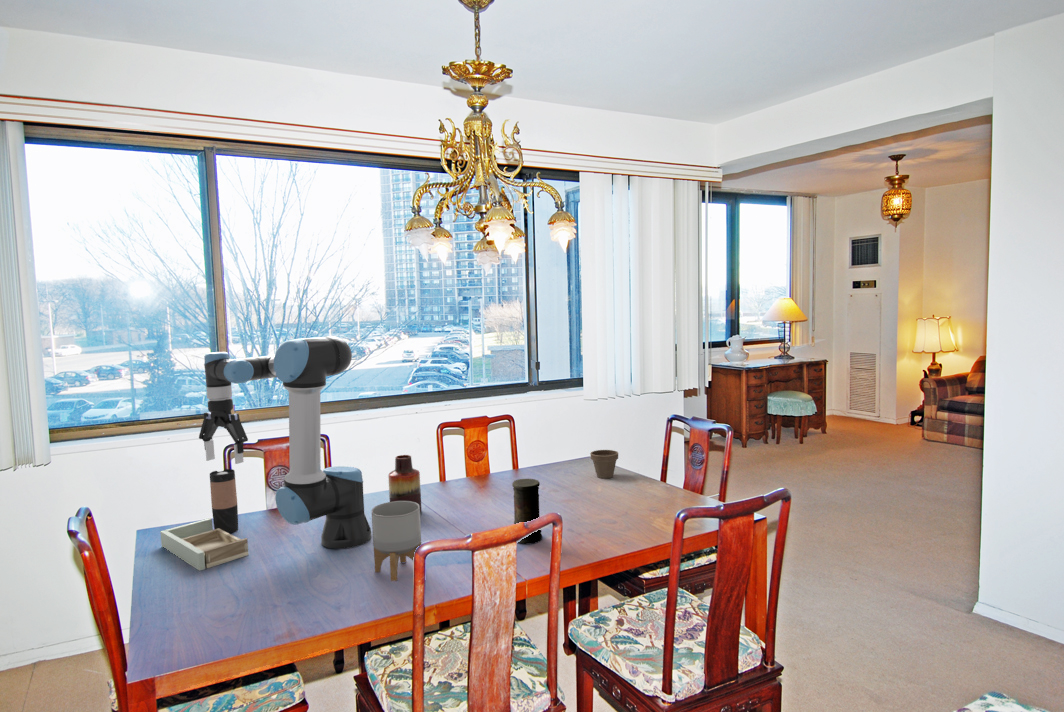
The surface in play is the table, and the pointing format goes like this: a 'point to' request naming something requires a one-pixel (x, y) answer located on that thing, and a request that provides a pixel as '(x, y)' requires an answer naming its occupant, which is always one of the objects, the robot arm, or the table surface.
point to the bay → (181, 548)
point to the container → (526, 505)
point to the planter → (395, 533)
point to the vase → (404, 481)
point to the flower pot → (604, 462)
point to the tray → (218, 546)
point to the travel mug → (224, 500)
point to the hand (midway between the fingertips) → (224, 461)
